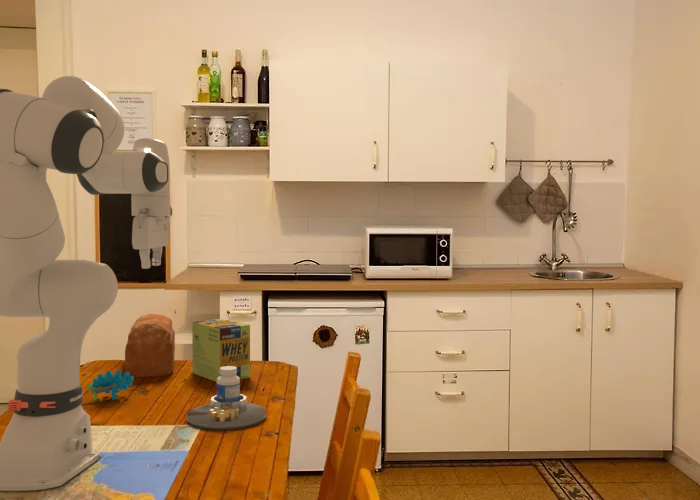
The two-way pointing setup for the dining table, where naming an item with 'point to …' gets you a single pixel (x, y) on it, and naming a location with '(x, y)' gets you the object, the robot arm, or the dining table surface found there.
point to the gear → (110, 383)
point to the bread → (150, 347)
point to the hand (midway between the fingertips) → (151, 266)
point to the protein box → (220, 347)
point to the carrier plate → (242, 422)
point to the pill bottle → (228, 385)
